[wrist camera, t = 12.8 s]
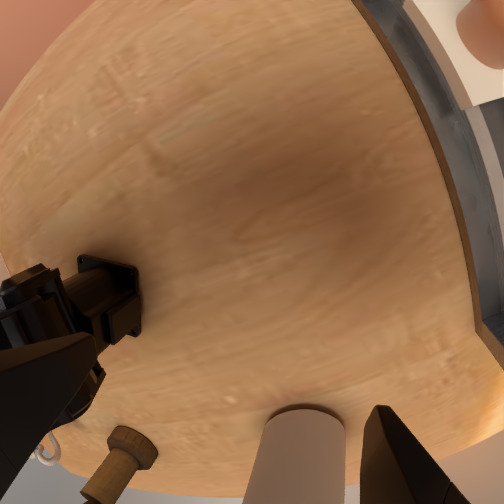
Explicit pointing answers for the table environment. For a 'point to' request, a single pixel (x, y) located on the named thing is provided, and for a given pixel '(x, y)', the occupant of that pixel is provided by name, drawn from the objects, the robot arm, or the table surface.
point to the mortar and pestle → (119, 466)
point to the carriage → (464, 45)
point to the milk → (3, 270)
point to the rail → (457, 160)
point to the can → (299, 461)
